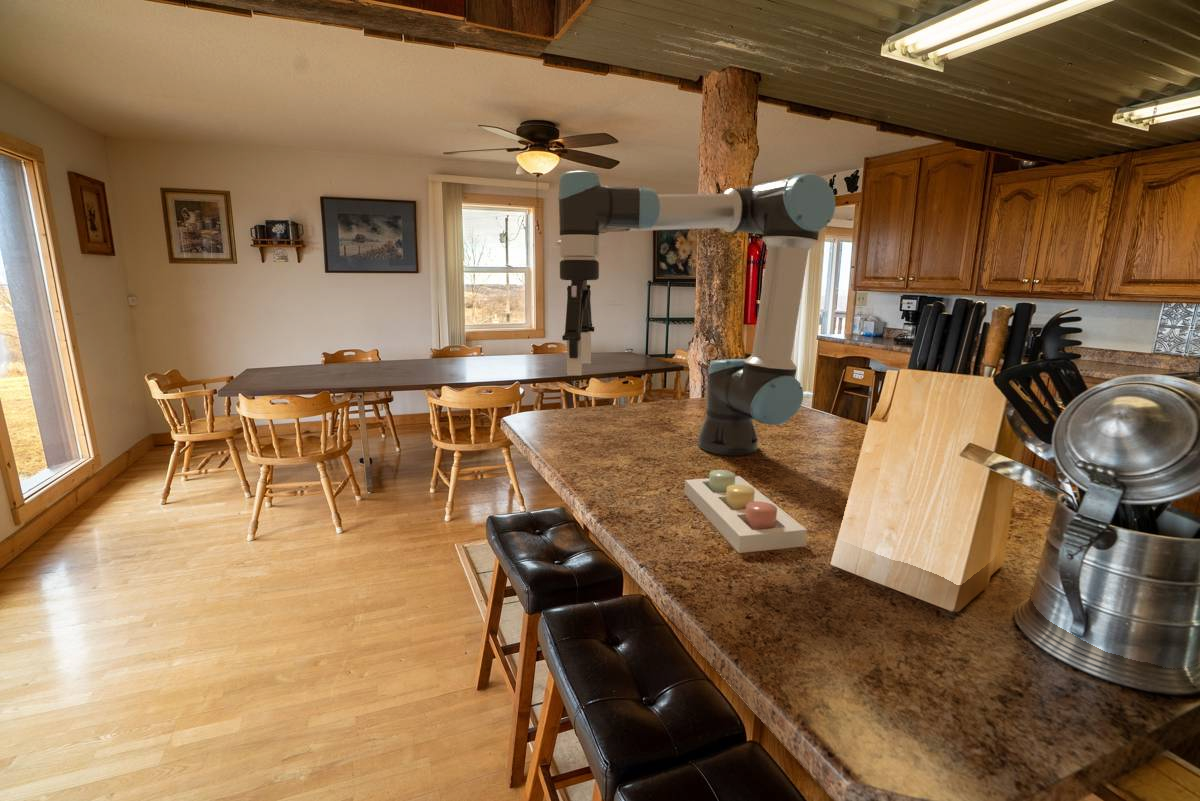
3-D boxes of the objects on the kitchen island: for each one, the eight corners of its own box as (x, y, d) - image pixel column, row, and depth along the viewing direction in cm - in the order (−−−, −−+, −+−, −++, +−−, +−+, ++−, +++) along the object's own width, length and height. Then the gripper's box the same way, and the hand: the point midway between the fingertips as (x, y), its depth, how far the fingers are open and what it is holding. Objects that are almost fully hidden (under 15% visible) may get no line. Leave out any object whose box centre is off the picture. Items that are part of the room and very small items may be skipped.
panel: (738, 489, 116) (739, 476, 116) (805, 546, 92) (807, 529, 92) (684, 493, 114) (685, 479, 113) (738, 553, 90) (739, 536, 89)
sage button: (727, 483, 113) (728, 469, 112) (738, 492, 108) (739, 477, 108) (704, 484, 112) (705, 470, 111) (714, 494, 107) (715, 479, 107)
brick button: (766, 516, 98) (767, 500, 97) (781, 528, 93) (782, 512, 92) (740, 518, 97) (741, 502, 96) (753, 531, 92) (755, 514, 91)
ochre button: (745, 498, 105) (746, 483, 105) (758, 509, 101) (759, 493, 100) (721, 500, 104) (722, 485, 104) (732, 511, 100) (733, 495, 99)
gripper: (570, 260, 118) (571, 358, 123) (546, 257, 94) (548, 380, 99) (605, 260, 118) (604, 359, 122) (590, 257, 93) (590, 381, 98)
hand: (579, 368), depth 111 cm, fingers open, 13 cm apart
